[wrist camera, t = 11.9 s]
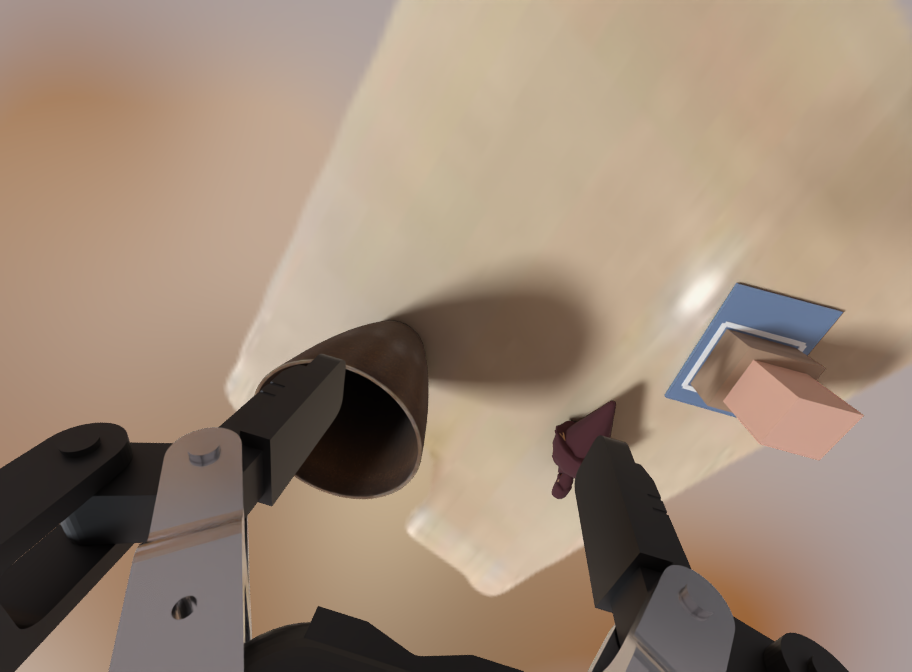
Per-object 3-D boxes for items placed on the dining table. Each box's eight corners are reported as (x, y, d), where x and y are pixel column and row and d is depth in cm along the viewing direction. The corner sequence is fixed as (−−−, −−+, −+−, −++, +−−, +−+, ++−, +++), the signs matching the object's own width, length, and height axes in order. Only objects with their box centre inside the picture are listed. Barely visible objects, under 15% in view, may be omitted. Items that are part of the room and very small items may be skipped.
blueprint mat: (736, 282, 34) (739, 284, 34) (839, 310, 34) (843, 312, 33) (664, 395, 41) (666, 397, 40) (750, 419, 40) (752, 422, 40)
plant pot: (433, 413, 47) (396, 521, 33) (328, 373, 47) (247, 464, 33) (471, 318, 40) (445, 403, 26) (349, 272, 40) (256, 331, 26)
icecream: (576, 404, 36) (524, 489, 44) (649, 440, 34) (581, 521, 42) (584, 370, 41) (537, 451, 49) (647, 399, 39) (588, 478, 48)
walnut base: (726, 329, 36) (749, 347, 32) (795, 347, 35) (826, 368, 32) (690, 383, 39) (707, 405, 35) (752, 401, 39) (776, 425, 35)
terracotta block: (753, 359, 33) (799, 398, 27) (807, 374, 32) (864, 415, 27) (722, 401, 35) (759, 443, 30) (773, 415, 35) (819, 460, 29)
